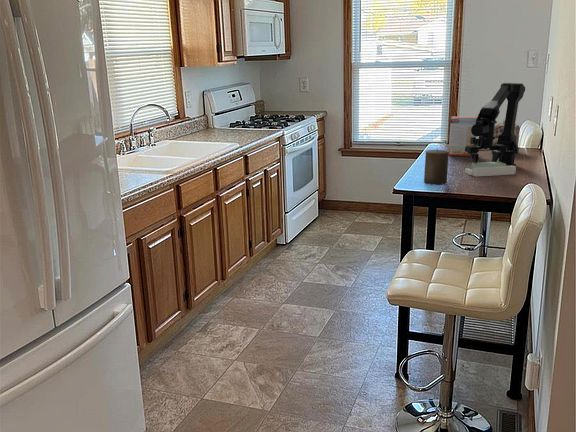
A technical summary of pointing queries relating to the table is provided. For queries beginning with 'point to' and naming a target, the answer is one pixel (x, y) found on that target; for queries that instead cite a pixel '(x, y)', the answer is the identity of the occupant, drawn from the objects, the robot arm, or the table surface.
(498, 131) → the decorative jar
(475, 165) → the bar
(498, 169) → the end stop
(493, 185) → the table surface
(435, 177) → the pillar candle
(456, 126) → the cracker box
